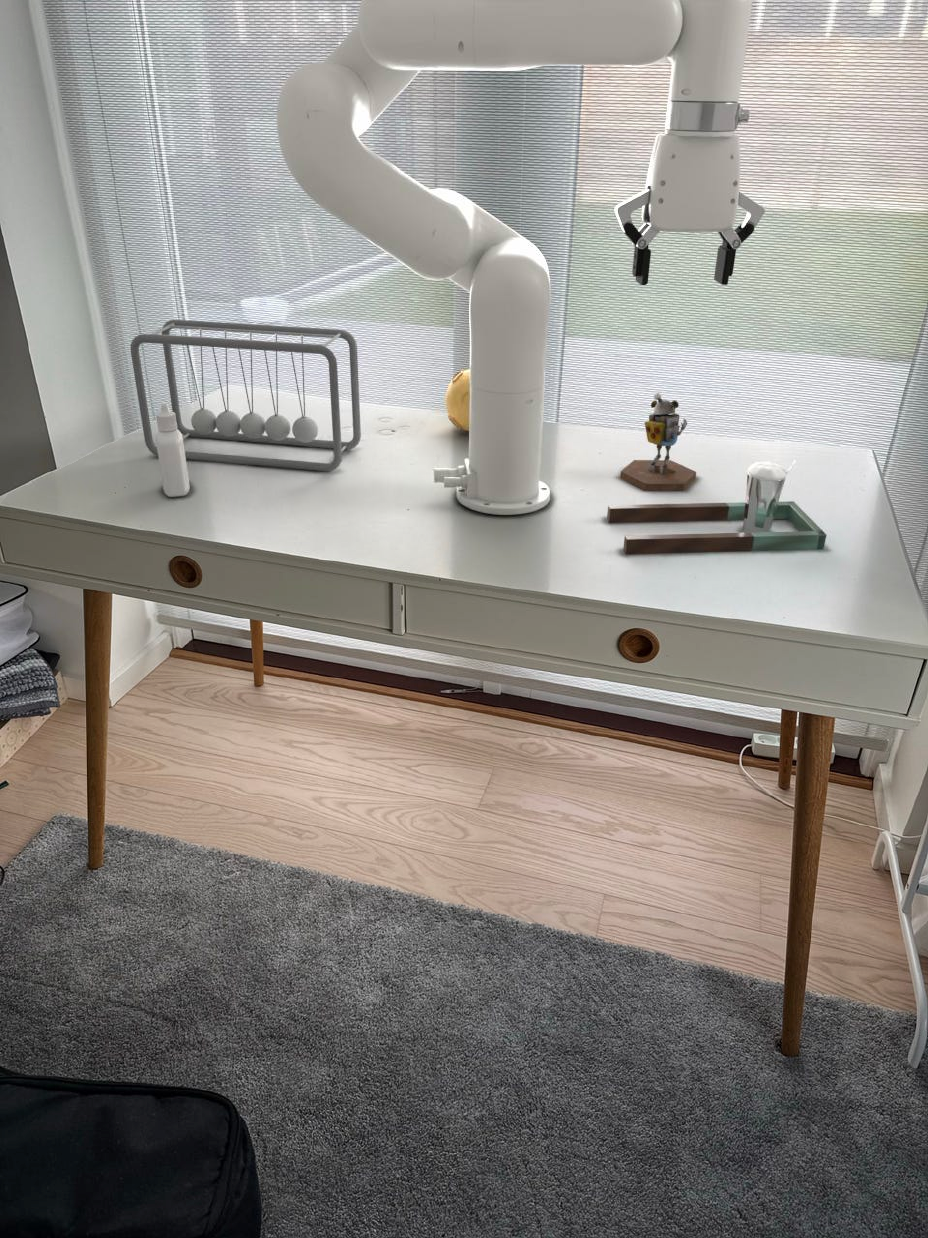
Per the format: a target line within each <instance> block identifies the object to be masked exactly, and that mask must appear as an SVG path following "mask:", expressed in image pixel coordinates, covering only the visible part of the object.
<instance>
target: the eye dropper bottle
mask: <svg viewBox="0 0 928 1238" xmlns="http://www.w3.org/2000/svg"><path fill="white" fill-rule="evenodd" d="M155 418H156V424H157V429H158V430H157V432H156V435H155V443H156V444H155V445H156V447H157V451H158V456H157V457H158V463H159V471H160V476H161V482H162V488H163V492H164V494H165V495H166V496H167V497H170V498H177V497H184V496H187V494H188V493H189V492H190V489H191V486H190V479H189V472H188V465H187V459H186V457H185V451H186V450H185V443H184V439H183V434H181V432H180V431H179V430H178V429H177V422H176V415H175V413H174V412H172V410H170V408H169V405H168V403H167V402H162V403H161V404H160V411H159V412H157V413H156V414H155Z"/></svg>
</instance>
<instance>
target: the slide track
mask: <svg viewBox="0 0 928 1238" xmlns="http://www.w3.org/2000/svg"><path fill="white" fill-rule="evenodd" d="M744 511H745V501H743V502H741V501H740V502H699V503H698V502H697V503H695V502H694V503H692V502H691V503H653V504H652V503H650V504H649V503H647V504H646V503H645V504H608V505H607V514H606V521H607V522H608V524H625V523H629V524H633V523H669V522H670V523H672V522H673V523H674V522H713V521H714V522H717V521H719V522H720V521H721V522H722V521H744ZM812 519H813V518H811V517H810V516H809V515H808V514H807V513H806V512H805V511H804V510H803V509H802V508H801V507H800V506H799V505H798V504H797V503H796V502H795V501H793V500H792V501H791V500H790V501H778V505H777V509H776V512H775V516H774V520H788V522H789V523H790V524H791V525H792V526H793V527H794V528H795V529H796V531H770V532H753V533H751V532H749V533H744V532H713V533H712V532H710V533H670V534H669V533H667V534H630V535H629V534H628V535H627V534H626V535H624V540H623V549H622V552H623V553H624V555H657V554H658V555H659V554H660V555H661V554H663V555H664V554H665V555H666V554H699V553H706V554H707V553H741V552H742V553H743V552H745V553H746V552H775V551H776V552H777V551H779V552H780V551H816V550H817V551H819V550H824V549H825V544H826V539H827V534H826V532H825V531H824V530H823V529H822V528H821V527H820V526H819V525H818V524H817V523H816V522H815V521H814V520H812Z"/></svg>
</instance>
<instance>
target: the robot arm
mask: <svg viewBox="0 0 928 1238" xmlns="http://www.w3.org/2000/svg"><path fill="white" fill-rule="evenodd" d="M752 4H753V2H752V0H361V2H360V5H359V8H358V13H357V24H356V25H355V26H354V28H352V30H351V31H350V32H349V33H348V35H347V36H346V37H345V38H344V39H343V40H342V41H341V42H340V43H339V45H338V46H337V47H336V48H335V49H334V50H333V51H332V52H331V53H330V54H329V55H328V57H327V58H326V59H325V60H324V61H323V62H320V61H319V62H311V63H308V64H305V65H302V66H301V67H299V68H297V69H296V70H294V71H293V72H292V73H291V74H290V75H289V76H288V77H287V79H286V80H285V81H284V84H283V85H282V87H281V90H280V92H279V96H278V99H277V107H276V131H277V138H278V144H279V147H280V151H281V155H282V157H283V160H284V162H285V164H286V166H287V168H288V170H289V172H290V174H291V175H292V177H293V179H294V180H295V182H296V183H297V185H298V186H299V187H300V189H302V190H303V191H304V193H305V194H306V195H307V196H308V197H309V198H310V199H311V200H312V201H314V202H315V203H316V205H318V206H320V207H321V208H322V209H323V210H325V211H326V212H327V213H329V214H330V215H332V216H333V217H334V218H336V219H338V220H339V221H340V222H342V223H343V224H345V225H346V226H348V227H349V228H350V229H352V230H353V231H355V232H356V233H358V234H359V235H360V236H362V237H363V238H364V239H365V240H367V241H369V242H370V243H371V244H373V245H374V246H376V247H377V248H379V249H380V250H382V251H384V252H385V253H386V254H388V255H389V256H391V257H392V258H393V259H395V260H397V261H398V262H400V263H401V264H402V265H403V266H405V267H406V268H407V269H409V270H410V271H412V272H413V273H414V274H416V275H418V276H420V277H421V278H423V279H427V280H430V281H443V280H449V281H451V282H452V283H454V284H455V285H457V286H458V287H460V288H462V289H463V290H464V291H466V292H467V293H469V302H468V303H469V305H468V306H469V313H468V314H469V369H470V414H469V431H468V458H465V459H464V465H457V467H456V468H447V467H437V468H436V467H434V468H433V483H436V484H439V483H443V488H456V499H457V501H458V502H459V503H460V504H461V505H463V506H464V507H466V508H468V509H470V510H472V511H475V512H479V513H483V514H487V515H488V514H489V515H495V516H497V515H498V516H516V515H517V516H518V515H524V514H529V513H534V512H536V511H539V510H540V509H543V508H544V507H545V506H548V503H549V502H550V500H551V489H550V487H549V486H548V485H547V484H546V483H545V482H543V481H541V480H540V479H541V478H540V477H541V462H542V461H541V460H542V444H543V442H542V441H543V427H544V426H543V425H544V408H545V407H544V406H545V405H544V404H545V388H546V384H545V382H546V367H547V352H548V351H547V349H548V337H549V336H548V335H549V324H550V316H551V315H550V314H551V303H552V301H551V299H552V288H551V287H552V286H551V277H550V270H549V266H548V263H547V260H546V258H545V256H544V255H543V253H542V252H541V251H540V249H539V248H538V247H537V246H536V245H535V244H534V243H532V242H531V241H530V240H528V239H527V238H526V237H524V236H522V235H521V234H520V233H518V232H517V231H515V230H514V229H513V228H511V227H509V226H508V225H507V224H505V223H504V222H502V221H501V220H499V219H498V218H497V217H495V216H493V215H492V214H491V213H490V212H488V211H486V210H485V209H484V208H482V207H481V206H479V205H477V204H476V203H475V202H473V201H472V200H470V199H469V198H467V197H466V196H464V195H462V194H460V193H458V192H457V191H454V190H451V189H447V188H432V189H430V188H428V187H426V186H425V185H424V184H422V183H420V182H418V181H417V180H415V179H414V178H412V177H411V176H409V175H408V174H406V173H405V172H404V171H402V170H401V169H400V168H398V167H397V166H396V165H394V163H392V162H390V161H388V160H387V159H385V158H384V157H382V156H381V155H379V154H377V153H375V152H374V151H372V150H371V149H370V148H369V147H367V146H366V145H365V144H364V143H363V141H362V140H361V139H360V138H359V137H360V136H361V135H363V134H364V133H366V131H367V130H368V129H369V127H371V125H372V124H373V123H374V122H375V121H376V120H377V119H378V118H379V117H380V116H381V115H382V114H383V112H384V111H385V110H387V108H388V107H389V106H390V105H391V104H392V103H393V102H394V101H395V100H396V99H397V97H399V95H401V94H402V93H403V91H404V90H405V89H406V88H407V87H408V85H410V83H411V82H412V81H413V80H414V79H415V78H416V77H417V76H418V74H419V73H420V72H421V71H491V72H493V71H494V72H495V71H496V72H500V71H501V72H505V71H510V72H512V71H525V70H529V69H533V68H538V67H548V66H626V67H631V68H638V67H646V66H647V67H648V66H651V65H657V64H667V63H671V70H670V71H671V72H670V79H669V91H668V101H667V110H666V119H665V129H664V133H657V134H656V137H655V141H654V144H653V148H652V152H651V155H650V161H649V165H648V171H647V175H646V181H645V188H644V190H643V191H641V192H639V193H636V194H635V195H634V196H631V197H630V198H628V199H626V200H624V201H622V202H621V203H619V204H617V205H615V207H614V213H615V215H616V218H617V220H618V223H619V225H620V229H621V232H622V233H623V234H624V235H625V236H626V237H627V238H628V240H629V241H630V242H631V244H632V245H633V246H634V247H633V248H634V249H633V260H632V270H631V271H632V272H631V273H632V276H633V277H635V282H636V283H638V284H639V285H640V286H647V285H648V284H649V275H650V267H651V256H652V251H651V249H650V248H649V244H651V242H652V241H653V240H654V239H655V237H656V236H657V235H658V234H659V233H660V232H666V233H717V234H718V236H719V238H720V239H721V241H722V243H721V244H720V245H719V246H718V247H717V254H716V262H715V267H714V277H713V280H714V281H716V282H717V283H718V284H720V285H721V286H727V285H728V283H729V278H730V277H732V276H733V274H734V269H735V268H734V267H735V260H736V254H737V250H738V249H740V248H741V246H742V244H743V243H744V242H745V241H746V240H747V239H748V238H749V237H750V236H751V235H752V234H753V233H754V232H755V228H756V226H757V225H758V224H759V222H760V221H761V219H762V218H763V216H764V214H765V212H766V209H765V207H764V206H763V205H761V204H759V203H758V202H757V201H755V200H753V199H752V198H750V197H749V196H746V195H745V194H744V193H742V192H741V191H740V183H741V141H740V140H741V139H740V135H737V134H735V131H736V130H738V125H741V124H747V123H748V122H749V119H750V110H749V109H746V108H745V109H744V108H743V107H741V103H740V102H739V101H740V94H741V88H742V80H743V74H744V73H743V72H744V64H745V59H746V51H747V43H748V36H749V31H750V30H749V29H750V21H751V16H752V15H751V14H752V6H753V5H752ZM738 208H740V209H742V210H744V211H745V212H746V217H745V218H744V220H743V222H741V223H740V224H739V225H738V226H737V227H736V228H735V229H734V227H733V226H734V225H735V222H736V219H737V213H738ZM638 209H641V220H642V222H643V224H642V226H641V227H640V228H638V229H637V227H636V226H635V225H634V223H633V220H632V217H631V215H632V213H633V212H635V211H636V210H638Z"/></svg>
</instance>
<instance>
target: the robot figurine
mask: <svg viewBox="0 0 928 1238" xmlns="http://www.w3.org/2000/svg"><path fill="white" fill-rule="evenodd" d="M653 399H654V400H653V401H652V402H651V404H650V408H653V413H652V414H649V415H648V420H647V421H645V422H644V427H645V433H646V439H647V442H648V443H651V444H653V445H656V451H657V454H656V455H655V457H654V458H653V459H633V460H632V461H631V462H630V463H629V464H628V465H626V466H625V467H624V468H623V469H622V470H621V471H620V477H619V478H620V479H622V480H623V481H625V482H627V483H629V484H632V485H633V486H636V487H637V488H640V489H642V490H643V491H672V492H673V491H677V492H678V491H680V492H681V491H685V490H686V489H687V488H688V487H689V486H690V485H691V484H692V483H693V482H694V481H695V479H696V477H697V471H695V470H693V469H691V468H688V467H687V466H684V465H683V464H680V463H678V462H675V461H674V460H670V458H671V457H670V450H671V448H672V446H675V445H676V443H677V441H678V437H679V436H681V435H682V433H683V431H684V430H685V429H686V428H687V426H688V421H687V419H685V418H683V422H680V415H679V414H678V413H676V409H678V408H679V405H680V404H679V402H678V401H677V400H672V401H670V400H667V399H662V394H661V392H655V393H653ZM679 423H680V424H679ZM680 425H681V426H680ZM663 447H664V448H665V451H666V455H665V456H664V459H661V458H662V455H661V450H662V448H663Z"/></svg>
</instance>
